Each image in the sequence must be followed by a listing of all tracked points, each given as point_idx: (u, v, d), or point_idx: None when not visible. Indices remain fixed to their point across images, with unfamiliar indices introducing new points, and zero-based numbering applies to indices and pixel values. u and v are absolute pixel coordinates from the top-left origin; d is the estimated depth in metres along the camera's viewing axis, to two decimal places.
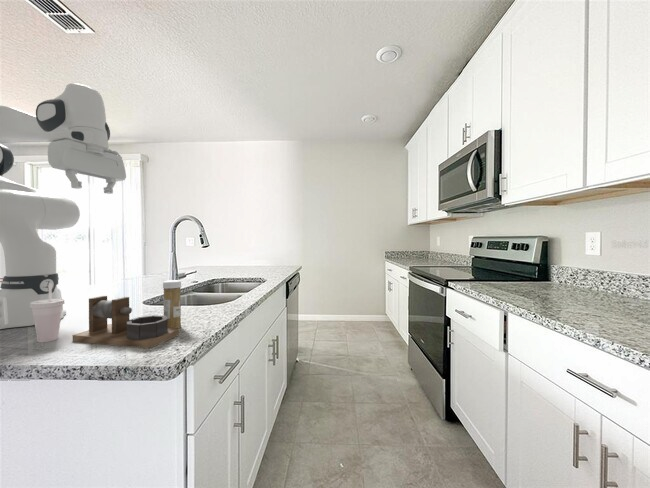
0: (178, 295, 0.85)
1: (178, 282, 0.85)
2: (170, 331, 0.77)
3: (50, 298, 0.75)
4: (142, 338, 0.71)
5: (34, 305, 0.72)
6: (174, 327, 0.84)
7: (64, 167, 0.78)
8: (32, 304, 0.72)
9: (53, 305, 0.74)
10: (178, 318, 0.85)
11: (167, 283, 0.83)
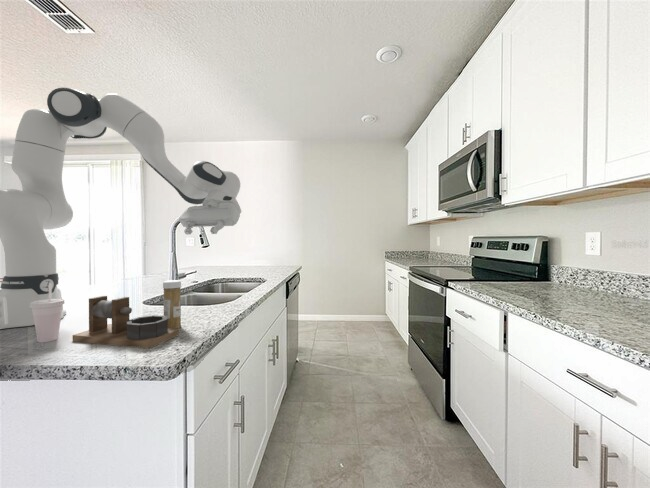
0: (178, 295, 0.85)
1: (178, 282, 0.85)
2: (170, 331, 0.77)
3: (50, 298, 0.75)
4: (142, 338, 0.71)
5: (34, 305, 0.72)
6: (174, 327, 0.84)
7: (229, 224, 0.99)
8: (32, 304, 0.72)
9: (53, 305, 0.74)
10: (178, 318, 0.85)
11: (167, 283, 0.83)
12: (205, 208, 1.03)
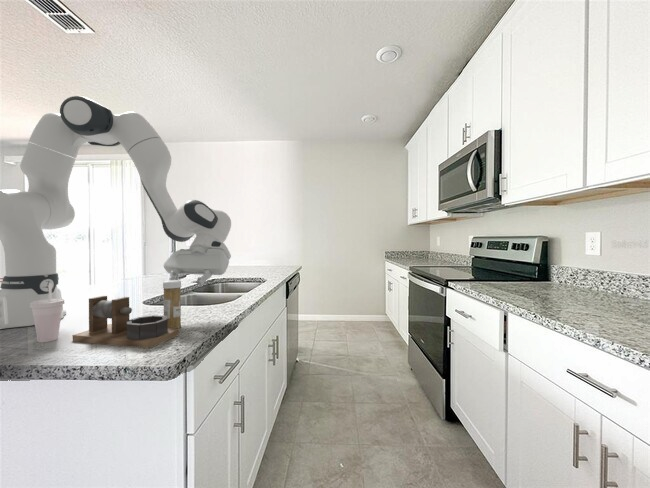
0: (178, 295, 0.85)
1: (178, 282, 0.85)
2: (170, 331, 0.77)
3: (50, 298, 0.75)
4: (142, 338, 0.71)
5: (34, 305, 0.72)
6: (174, 327, 0.84)
7: (217, 274, 0.93)
8: (32, 304, 0.72)
9: (53, 305, 0.74)
10: (178, 318, 0.85)
11: (167, 283, 0.83)
12: (192, 254, 0.97)
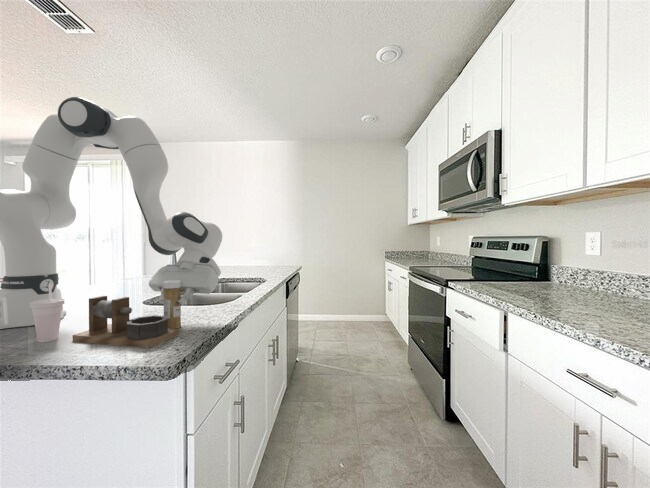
0: (178, 295, 0.85)
1: (178, 282, 0.85)
2: (170, 331, 0.77)
3: (50, 298, 0.75)
4: (142, 338, 0.71)
5: (34, 305, 0.72)
6: (174, 327, 0.84)
7: (205, 292, 0.87)
8: (32, 304, 0.72)
9: (53, 305, 0.74)
10: (178, 318, 0.85)
11: (167, 283, 0.83)
12: (179, 270, 0.91)
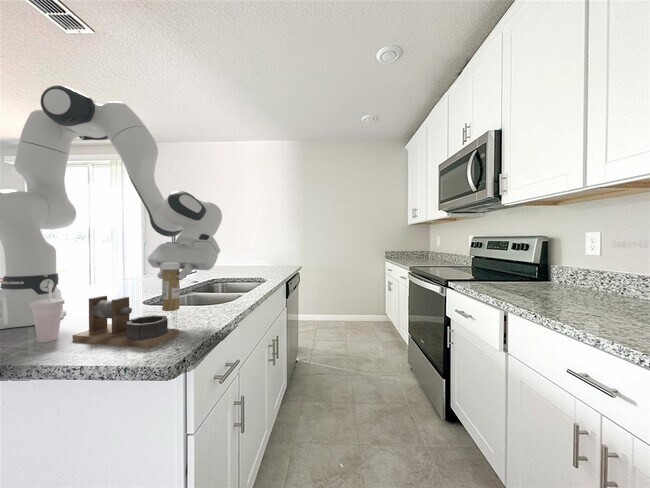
0: None
1: (177, 264, 0.84)
2: (170, 331, 0.77)
3: (50, 298, 0.75)
4: (142, 338, 0.71)
5: (34, 305, 0.72)
6: (172, 308, 0.84)
7: (204, 269, 0.87)
8: (32, 304, 0.72)
9: (53, 305, 0.74)
10: (176, 300, 0.85)
11: (166, 264, 0.83)
12: (178, 247, 0.91)
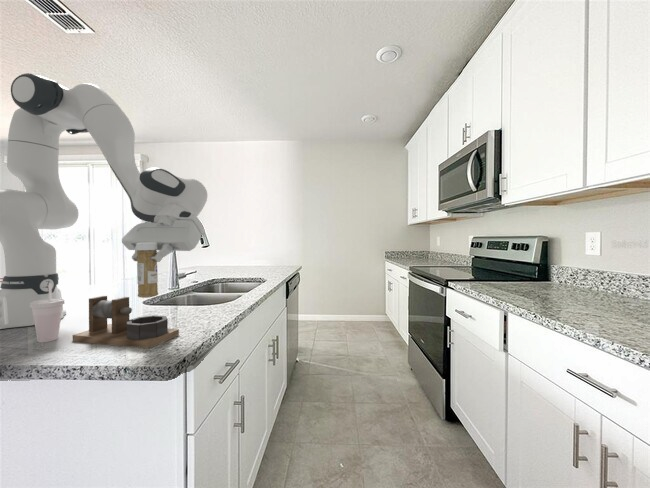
0: None
1: (153, 244, 0.74)
2: (170, 331, 0.77)
3: (50, 298, 0.75)
4: (142, 338, 0.71)
5: (34, 305, 0.72)
6: (149, 294, 0.74)
7: (185, 249, 0.77)
8: (32, 304, 0.72)
9: (53, 305, 0.74)
10: (154, 285, 0.75)
11: (140, 244, 0.73)
12: (156, 226, 0.81)
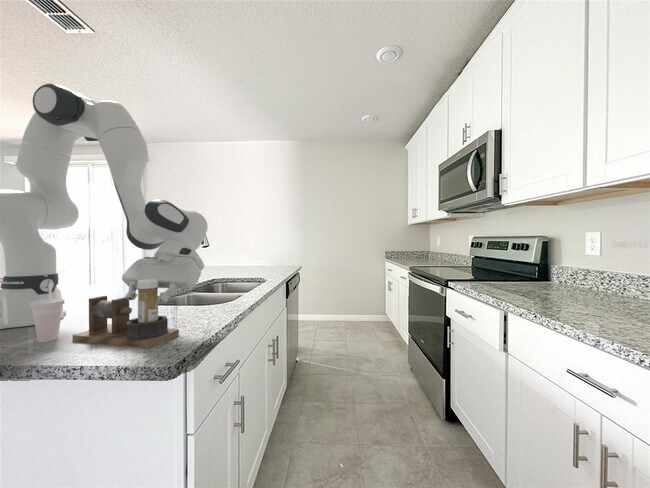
0: (154, 296, 0.75)
1: (154, 282, 0.75)
2: (170, 331, 0.77)
3: (50, 298, 0.75)
4: (142, 338, 0.71)
5: (34, 305, 0.72)
6: None
7: (185, 287, 0.77)
8: (32, 304, 0.72)
9: (53, 305, 0.74)
10: None
11: (141, 283, 0.73)
12: (157, 263, 0.81)
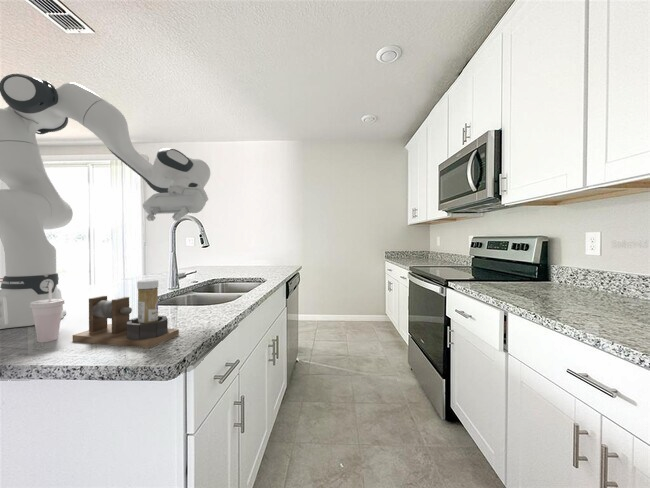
0: (154, 296, 0.75)
1: (154, 282, 0.75)
2: (170, 331, 0.77)
3: (50, 298, 0.75)
4: (142, 338, 0.71)
5: (34, 305, 0.72)
6: None
7: (193, 211, 0.97)
8: (32, 304, 0.72)
9: (53, 305, 0.74)
10: None
11: (141, 283, 0.73)
12: (170, 195, 1.01)
